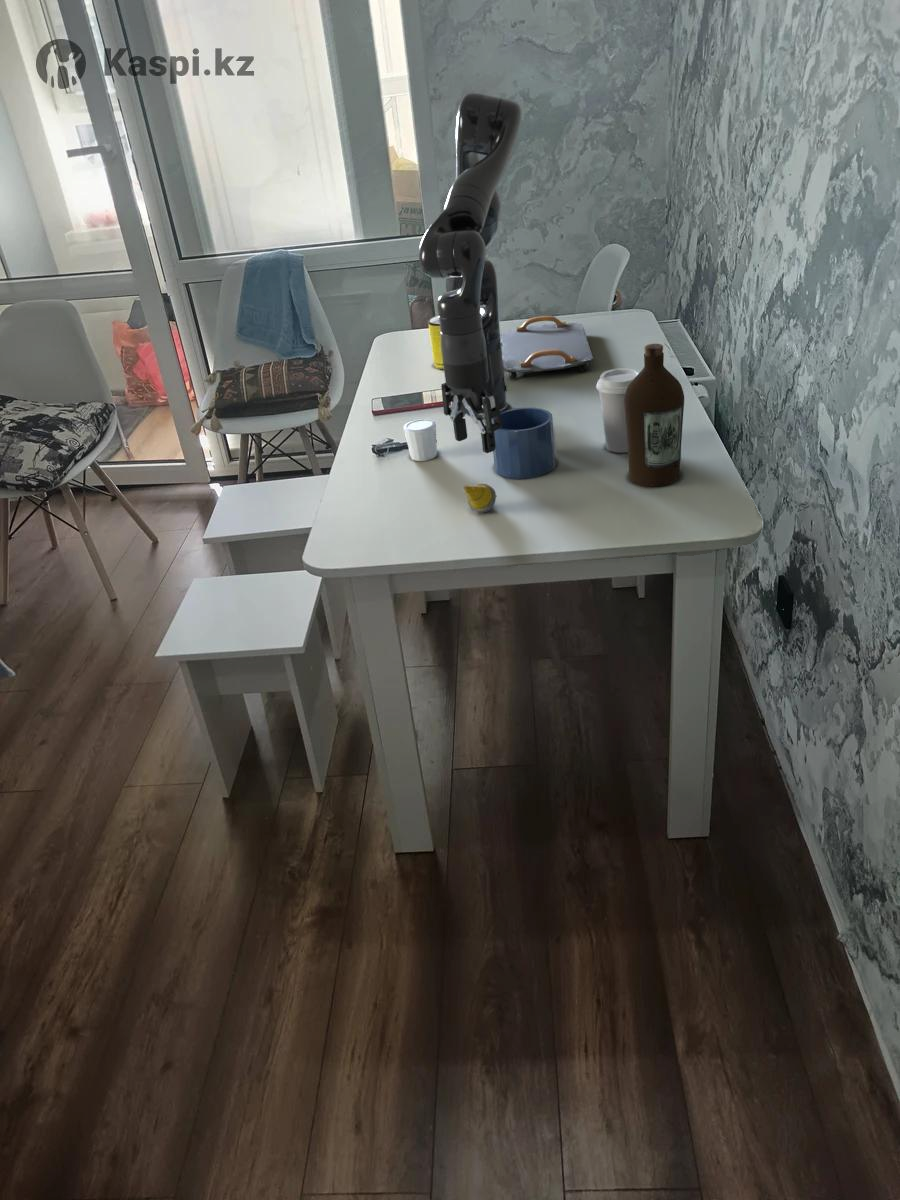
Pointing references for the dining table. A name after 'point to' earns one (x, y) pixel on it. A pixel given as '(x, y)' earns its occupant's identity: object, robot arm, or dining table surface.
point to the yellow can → (436, 341)
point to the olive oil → (654, 422)
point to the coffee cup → (615, 406)
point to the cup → (524, 443)
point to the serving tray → (545, 347)
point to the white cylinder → (421, 439)
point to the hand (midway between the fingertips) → (475, 445)
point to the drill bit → (480, 497)
